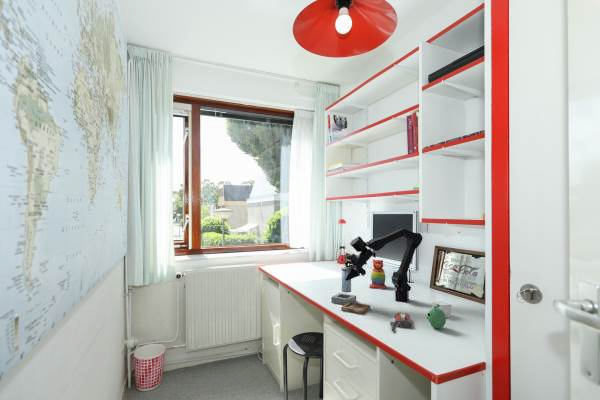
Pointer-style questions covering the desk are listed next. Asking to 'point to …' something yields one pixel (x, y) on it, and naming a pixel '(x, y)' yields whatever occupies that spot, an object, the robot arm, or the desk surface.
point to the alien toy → (436, 317)
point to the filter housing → (343, 298)
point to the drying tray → (355, 307)
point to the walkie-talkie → (400, 321)
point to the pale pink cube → (443, 307)
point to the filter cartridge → (345, 284)
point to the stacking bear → (378, 275)
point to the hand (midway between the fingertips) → (344, 279)
